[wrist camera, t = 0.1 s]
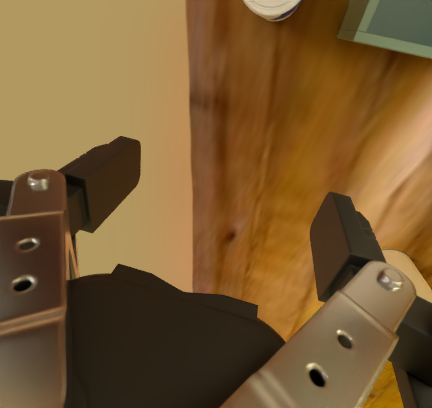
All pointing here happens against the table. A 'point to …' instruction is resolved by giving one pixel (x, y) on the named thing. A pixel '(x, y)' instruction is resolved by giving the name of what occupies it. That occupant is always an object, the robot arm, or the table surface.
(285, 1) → the beverage can
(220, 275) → the table surface
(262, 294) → the table surface
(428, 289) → the coffee cup
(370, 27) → the crate
